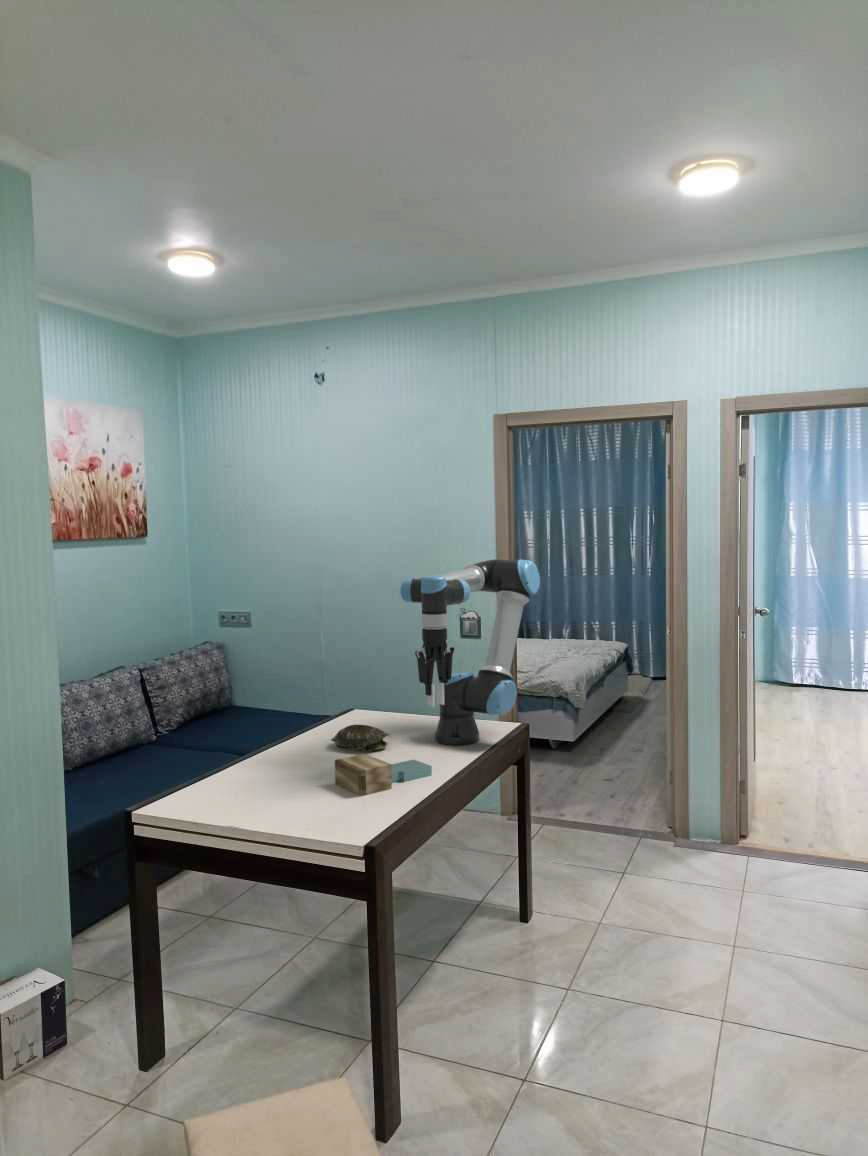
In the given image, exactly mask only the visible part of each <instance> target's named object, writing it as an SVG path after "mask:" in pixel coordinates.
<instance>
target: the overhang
mask: <svg viewBox="0 0 868 1156" xmlns="http://www.w3.org/2000/svg"><path fill="white" fill-rule="evenodd" d="M391 764H392V763H389V762H387V761H384V760H382V759H379V758H376V757H374V756H371V755H368V754H366V753H361V754H357V755H352V756H348V757H343V758H338V759H334V778H335V779H334V780H335V781H334V782H335V785H337V786H340V787H342V789H346V790H348V791H350V792H352V793H354V794H357V795H359V796H360V797H363V796H368V795H372V794H374V793H378V792H379V793H380V792H383V791H384V792H385V791H388V790H392V789H393V787H392V785H393V783H392V778H391Z"/></svg>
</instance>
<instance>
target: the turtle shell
mask: <svg viewBox="0 0 868 1156" xmlns="http://www.w3.org/2000/svg"><path fill="white" fill-rule="evenodd" d="M388 736H389V737H390V736H391V733H388V732H385V731H384V730H382V729H380V728H378V727H376V726H371V725H367V724H350V725H347V726H346V727H344V728H341V729H340V730H338V732H337V733H336V735H335V736H333V738H331V739H330V741H331V742H333V743H334V744H335V746H336V747H337V748H339V749H342V750H350V751H355V752H361V753H365V752H370V751H371V752H372V751H380V750H383V749H384V750H385V749H386V748H387V747H388V742H387V741H385V740H383V739H384V738H386V737H388Z"/></svg>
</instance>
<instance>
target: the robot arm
mask: <svg viewBox="0 0 868 1156" xmlns="http://www.w3.org/2000/svg"><path fill="white" fill-rule="evenodd" d="M540 577H541V576H540V573H539V569H538V567H537V565H536V564H535V563H534V562H533V561H532V560H526V559H489V560H485V561H480V562H476V563H473V564H468V565H466V566H465V567H464V568H463V569H458V570H454V571H450V572H449V571H448V572H445V573H440V574H435V575H426V576H423V577H422V578H407V579H404V580H403V581H402V583H401V585H400V590H399V591H400V597H401V599H402V600H403V601H404V602H406V603H412V604H415V603H417V604H421V626H422V627H423V628H422V629H421V639H422V643H423V644H422V646H421V649H420V650H416V651H414V654H415V656H416V660H417V661H416V662H417V671H418V679H419V680H418V681H419V683H420V684H423V685H424V686H425V688H424V690H425V695H426V698H427V700H426V701H427V706H429V707H435V706H436V704H437V705H439V719H438V723H437V726H436V731H435V732H434V741H435V742H437V743H439V744H443V745H448V746H449V745H452V746H459V745H460V746H464V745H471V744H475V743H478V742H479V740H480V731H479V728H478V725H477V722H476V718H475V713H479V714H486V715H490V716H505V715H507V714H508V713H509V712H510V711H511V710H512V709H513V708H514V705H515V703H516V699H517V695H518V691H517V690H518V689H517V685H516V683H515V682H514V681H513V679H514V678H513V675H512V673H511V672H510V671H511V667H512V663H513V658H514V653H515V648H516V643H517V639H518V635H519V630H520V629H519V628H520V626H521V621H522V620H521V619H522V615H523V611H524V606H525V605H526V604H528V603H529V602H530V598H531V596H533V595H536V594H537V593H538V591H539V590H540V585H541V578H540ZM478 592H485V593H495V595H496V597H497V599H498V603H497V608H496V613H495V617H494V622H493V627H492V632H491V635H490V641H489V645H488V648H487V649H488V650H487V653H486V657H485V662H484V666H483V667H482V668H480V669H479V670H478V673H477V676H474V675H475V674H474V672H473V670H464V671H463V670H459V671H454V672H452V670H453V655H454V652H455V647H452V646H449V645H448V643H447V640H448V629H447V626H448V617H447V616H448V613H447V609H448V608H447V606H452V605H460V604H463V603H466V602H467V601H468V600H469V598H470V597H471V593H478ZM435 663H436V671H437V676H438V681H437V682H436V692H435V684H433V678H434V668H435ZM435 693H436V694H435ZM435 697H436V699H435Z"/></svg>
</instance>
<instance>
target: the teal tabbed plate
mask: <svg viewBox="0 0 868 1156" xmlns="http://www.w3.org/2000/svg"><path fill="white" fill-rule="evenodd" d="M390 764H391V778H392V784H395V783H398V782H403V783H407V782H411V781H415V780H419V779H423V778H426V777H427V778H428V777H431V776H433V775H432V771H433V770H432V767H433V766H432V765H431V764H427V763H425V762H422V761H419V760H416V759H409V760H406V761H400V762H396V763H390Z"/></svg>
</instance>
